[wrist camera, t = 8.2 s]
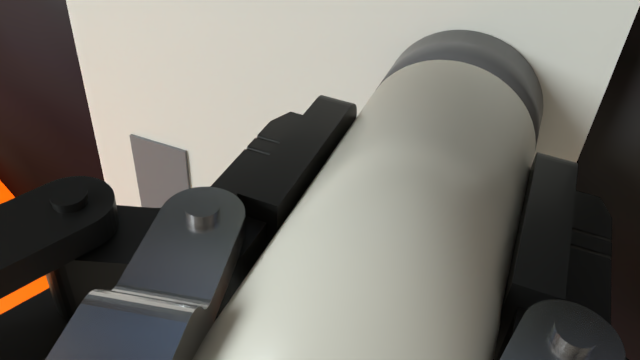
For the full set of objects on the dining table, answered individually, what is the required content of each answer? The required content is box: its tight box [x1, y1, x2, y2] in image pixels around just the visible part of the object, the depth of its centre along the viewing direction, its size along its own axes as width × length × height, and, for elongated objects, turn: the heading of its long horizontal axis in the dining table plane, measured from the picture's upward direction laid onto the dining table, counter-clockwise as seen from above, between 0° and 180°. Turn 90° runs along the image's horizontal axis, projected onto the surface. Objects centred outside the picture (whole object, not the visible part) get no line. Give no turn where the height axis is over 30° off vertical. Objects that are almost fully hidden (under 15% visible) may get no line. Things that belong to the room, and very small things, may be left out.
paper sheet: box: [66, 0, 640, 208], centre depth 18 cm, size 14×18×1 cm
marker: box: [192, 30, 543, 360], centre depth 9 cm, size 4×4×12 cm
